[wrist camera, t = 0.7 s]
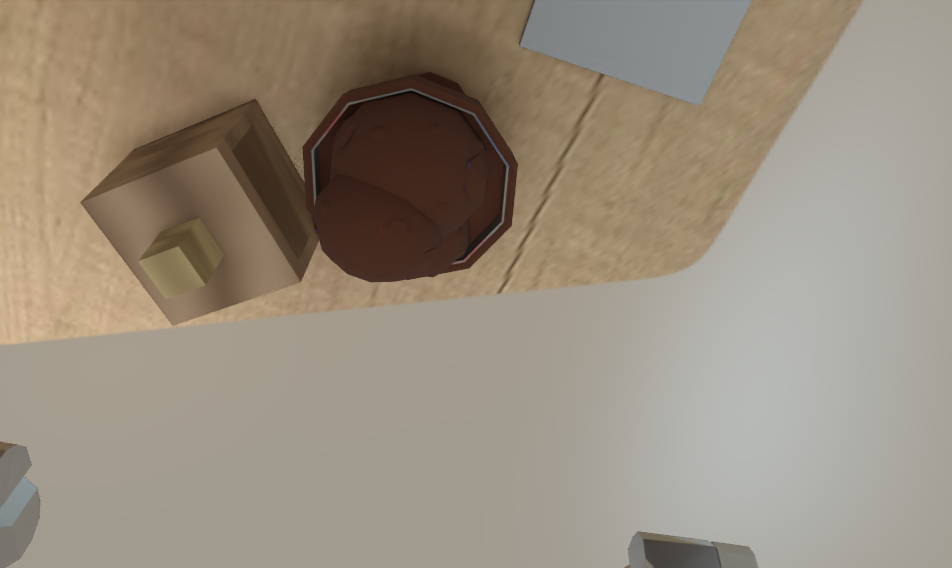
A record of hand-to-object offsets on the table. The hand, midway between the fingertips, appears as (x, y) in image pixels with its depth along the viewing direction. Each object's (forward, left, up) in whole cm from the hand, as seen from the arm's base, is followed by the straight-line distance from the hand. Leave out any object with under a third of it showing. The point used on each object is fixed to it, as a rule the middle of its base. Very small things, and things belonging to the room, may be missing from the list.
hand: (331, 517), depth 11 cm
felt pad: (+9, +2, -38) cm, 39 cm away
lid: (-11, -18, -32) cm, 39 cm away
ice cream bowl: (0, -10, -39) cm, 40 cm away
